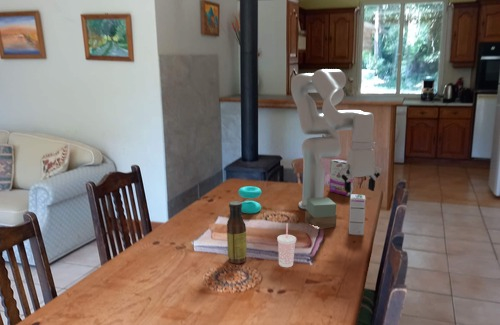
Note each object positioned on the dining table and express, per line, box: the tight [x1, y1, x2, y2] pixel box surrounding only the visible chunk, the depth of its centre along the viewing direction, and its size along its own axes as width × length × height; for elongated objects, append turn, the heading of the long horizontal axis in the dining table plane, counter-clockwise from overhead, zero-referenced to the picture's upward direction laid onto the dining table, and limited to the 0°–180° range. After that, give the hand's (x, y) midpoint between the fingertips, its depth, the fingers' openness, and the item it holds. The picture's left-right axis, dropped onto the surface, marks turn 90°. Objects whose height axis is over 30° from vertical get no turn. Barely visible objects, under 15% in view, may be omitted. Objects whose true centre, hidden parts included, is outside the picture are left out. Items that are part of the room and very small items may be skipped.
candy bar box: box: [329, 158, 355, 197], centre depth 218 cm, size 11×5×16 cm, turn 43°
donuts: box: [238, 185, 262, 214], centre depth 192 cm, size 10×10×10 cm
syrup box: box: [348, 193, 366, 236], centre depth 168 cm, size 6×6×14 cm
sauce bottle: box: [226, 200, 248, 265], centre depth 142 cm, size 7×6×20 cm
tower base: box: [304, 210, 337, 229], centre depth 177 cm, size 9×9×5 cm
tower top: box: [306, 196, 337, 217], centre depth 176 cm, size 9×9×5 cm
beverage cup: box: [276, 222, 297, 268], centre depth 141 cm, size 6×6×14 cm
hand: (359, 190), depth 165 cm, fingers open, 9 cm apart
